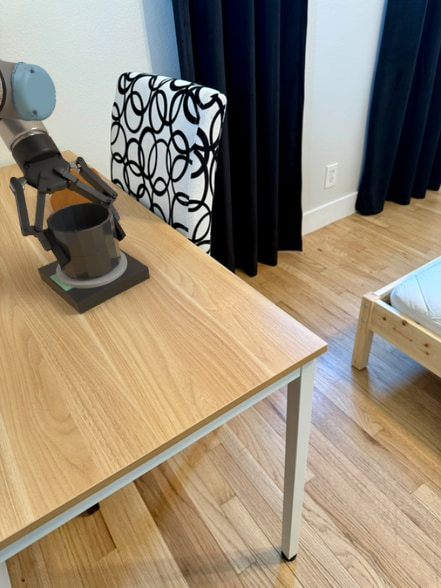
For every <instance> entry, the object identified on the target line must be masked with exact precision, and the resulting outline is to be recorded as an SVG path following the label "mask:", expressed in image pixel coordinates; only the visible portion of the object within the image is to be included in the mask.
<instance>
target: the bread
mask: <svg viewBox="0 0 441 588" xmlns="http://www.w3.org/2000/svg"><path fill="white" fill-rule="evenodd" d="M89 168H90V169H91V170H92V171H93V172H95V173H96V174H97V175H98V176H99V177H100V178H101V179H102V177H101V176H100V173H98V171H97V170H96V169H95V168H93V167H89ZM70 173H71V174H73V175H74V176H76V177H77V178H78V179H79V180H80V181H82V182H83V183H85V184H87V185H88V186H90V187H92V186H91V185H90V184H89V183H88V182H87V181H85V180H84V179H83V178H82V177H81V176H80V174H79V173H76V172H75V171H74V170H72V169H71V170H70ZM69 182H70V181H69ZM70 183H71V182H70ZM92 188H93V187H92ZM93 189H94V188H93ZM49 203H50V206H51V209H52V210H53V212H55V211H56V210H58V209H60V208H63V207H66V206H68V205H72V204H77V203H93V202H92V201H90V200H88V199H86V198H85V197H83V196H81V195H80V194H78V193H76V192H74V191H70V190H68V189H67V188H65V190H62V191H56V192H55V193H53V194H51V196H50V197H49Z"/></svg>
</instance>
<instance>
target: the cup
mask: <svg viewBox="0 0 441 588" xmlns="http://www.w3.org/2000/svg"><path fill="white" fill-rule="evenodd" d="M46 227H47V228H49V230H50V231H51V233H52V235H53V236H54V238H55V240H56V241H57V243H58V245H59V246H60V248H61V249H62V251H63V253H64V254H65V256H66V258H67V259H68V263H67V265H66V266H64V267H61V265H60V264H59V265H60V268H61V271H62V272H63V273H64V274H65V275H67V276H68V277H72V278H76V279H91V278H96V277H100V276H102V275H105V274H107V273H109V272H111V271H112V270H113V269H114V268H115V267H117V266H118V265H119V263H120V260H121V254H120V249H121V248H120V245H119V241H118V239H117V234H116V229H115V224H114V219H113V214H112V211H111V209H110V208H109V207H107V206H105V205H104V204H99V203H77V204H72V205H68V206H66V207H63V208H60V209H58V210H56V211H53V212H52V213H50V214H49V216H48V217H47V219H46ZM119 248H120V249H119Z"/></svg>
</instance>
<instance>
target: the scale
mask: <svg viewBox="0 0 441 588" xmlns="http://www.w3.org/2000/svg"><path fill="white" fill-rule="evenodd" d="M119 249H120V254H121V260H120V263H119V265H118V266H117V267H115V268H114V269H113V270H112V271H111V272H109V273H107V274H105V275H102V276H100V277H96V278H91V279H76V278H72V277H68V276H67V275H65V274H64V273H63V272H62V271H61V268H60V265H59V262H58V261H57V259H56V260H54V261H52V262H49V263H47V264H45V265H43V266H40V267H38V268H37V271H38V274H39V277H40V279H41V280H42V281H43V282H44V283H45V284H46V285H47V286H48V287H49V288H51V290H53V292H55V293H56V294H57V295H58V296H60V298H62V299H63V301H65V302H66V303H68V305H70V306H71V307H72V308H73V310H75V311H76V312H78V313H79V314H80V315H81V314H84V313H86V312H88V311H89V310H90V311H91V310H92V309H93V308H95V307H97V306H99V305H101V304H103V303H105V302H106V301H109V300H110V299H113V298H114V297H116V296H118V295H120V294H122V293H123V292H126V291H127V290H130V289H131V288H133V287H135V286H137V285H139V284H141V283H142V282H144V281H145V282H146V280H148V279H150V278H151V275H150V270H149V266H147V265H146V264H144V263H143V262H141V261H140V260H139V259H136V258H135V257H133V256H132V255H131V254H130V253H128V252H127V251H124V250H123V249H121V248H120V247H119Z"/></svg>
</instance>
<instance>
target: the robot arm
mask: <svg viewBox="0 0 441 588" xmlns="http://www.w3.org/2000/svg"><path fill="white" fill-rule="evenodd" d="M56 94H57V91H56V86H55V82H54V80H53V79H52V77H51V75H50V74H49V73H48V71H47V70H45V69H44V68H43V67H42V66H40V65H37V64H32V63H27V62H25V61H18V62H12V61H6V60H2V59H1V58H0V138H1V139H2V141H3V143H4V145H5V146H6V148H7V150H8V152H10V153H11V156H12V158H13V160H14V161H15V163H16V165H17V166H18V168H19V170H20V171H21V172H22V175H23V176H20V177H16V176H11V177H10V178H9V184H8V187H9V189H10V191H11V192H12V194H13V196H14V200H15V205H16V210H17V216H18V223H19V228H20V233H21V235H22V237H24V238H26V237H28V236H33V237H34V238H36V239H37V240H38V242H39V243H40V245H41V247H42V248H43V250H44V251H45V252H47V253H48V252H50V251H51V252H52V254H53V256H54V257H55V259H56V260H57V261H58V262H59V264H60V265H61V267H64V266H66V265H67V263H68V259H67V258H66V256H65V254H64V253H63V251H62V249H61V248H60V246H59V245H58V243H57V241H56V240H55V238H54V236H53V235H52V233H51V231H50V230H49V228H48V227H47V228H44V219H45V208H46V197H47V195H49V196H50V195H52V194H53V193H55V192H56V191H62V190H65V188H67V189H68V190H70V191H74V192H76V193H78V194H80V195H81V196H83V197H85V198H86V199H88V200H90V201H92V202H93V203H99V204H104V205H105V206H107V207H109V208H110V209H111V211H112V214H113V219H114V224H115V229H116V234H117V239H118V243H119V242H122V241H123V240H124V239H125V238H126V237H127V234H126V232H125V231H124V229H123V227H122V226H121V224H120V222H119V221H120V220H121V216H120V214H119V212H118V211H117V209H116V208H115V206H114V203H115V202H116V200H117V199H118V197H119V194H118V192H117V191H116V190H115V189H114V188H113V187H111V185H109V184H108V183H107V182H106V181H104V180H103V178H102V177H101V176H100V175H99V176H100V177H101V178H100V177H99V176H98V175H97V174H96V173H95V172H93V171H92V170H91V169H90V168H91V167H89V166H88V164H87V162H86V160H85V159H84V158H83V157H82V156H77V157H76V159H75V160H72V161H68V160H66V159H65V158H64V157H63V154H62V153H61V151H60V149H59V147H58V146H57V144H56V143H55V141H54V139H53V138H52V136H51V135H50V133H49V131H48V129H47V128H46V126H45V124H44V123H43V121H45V120H47V119H49V118H50V116H51V115H52V114H53V112H54V111H55V109H56V105H57V98H56V97H57V95H56ZM70 170H74V171H75V172H76V173H79V174H80V176H81V177H82V178H83V179H84V180H85V181H87V182H88V183H89V184H90V185H91V186H92V187H93V188H94V189H93V188H92V187H90V186H88V185H87V184H85V183H83V182H82V181H80V180H79V179H78V178H77V177H76V176H74V175H73V174H71V173H70ZM69 181H70V182H71V183H70V182H69ZM26 185H27V186H30V187H31V188H33V189H35V190H36V198H35V199H36V204H35V211H34V221H33V222H34V223H33V225H31V223H30V216H29V211H28V207H27V201H26V200H27V199H26V195H25V189H26Z"/></svg>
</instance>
